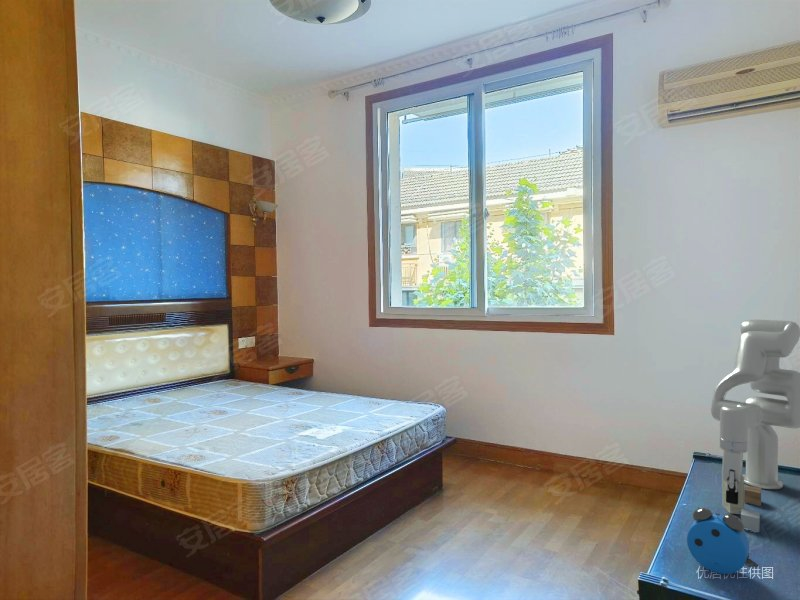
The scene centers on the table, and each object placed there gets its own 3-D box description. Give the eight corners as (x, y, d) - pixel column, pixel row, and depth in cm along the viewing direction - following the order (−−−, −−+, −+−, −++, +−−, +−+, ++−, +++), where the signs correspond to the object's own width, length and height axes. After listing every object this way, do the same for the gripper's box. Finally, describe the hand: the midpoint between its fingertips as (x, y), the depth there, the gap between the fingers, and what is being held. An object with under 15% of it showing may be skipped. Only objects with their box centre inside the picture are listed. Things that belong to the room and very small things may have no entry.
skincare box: (744, 515, 161) (745, 477, 160) (729, 513, 162) (729, 476, 161) (735, 506, 167) (736, 470, 166) (721, 505, 168) (721, 469, 167)
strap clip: (726, 550, 140) (726, 535, 140) (737, 550, 140) (737, 535, 140) (747, 567, 132) (747, 551, 132) (759, 567, 132) (759, 551, 132)
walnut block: (744, 498, 173) (745, 485, 173) (761, 501, 170) (761, 488, 170) (744, 503, 170) (744, 489, 169) (760, 506, 167) (760, 492, 167)
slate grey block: (741, 523, 156) (741, 508, 155) (759, 527, 153) (759, 512, 153) (740, 529, 152) (740, 514, 152) (759, 533, 149) (759, 518, 149)
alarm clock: (749, 572, 129) (750, 514, 129) (745, 583, 124) (746, 523, 124) (691, 555, 138) (691, 500, 137) (686, 564, 133) (686, 508, 132)
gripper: (721, 436, 173) (721, 487, 173) (717, 449, 159) (716, 505, 159) (748, 439, 168) (748, 492, 169) (746, 454, 154) (745, 511, 155)
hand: (732, 498), depth 164 cm, fingers closed on skincare box, 7 cm apart
